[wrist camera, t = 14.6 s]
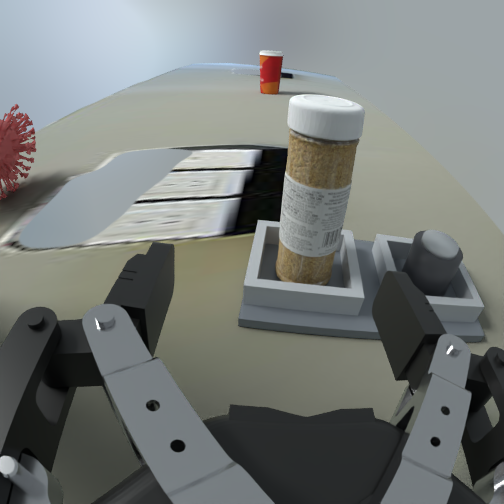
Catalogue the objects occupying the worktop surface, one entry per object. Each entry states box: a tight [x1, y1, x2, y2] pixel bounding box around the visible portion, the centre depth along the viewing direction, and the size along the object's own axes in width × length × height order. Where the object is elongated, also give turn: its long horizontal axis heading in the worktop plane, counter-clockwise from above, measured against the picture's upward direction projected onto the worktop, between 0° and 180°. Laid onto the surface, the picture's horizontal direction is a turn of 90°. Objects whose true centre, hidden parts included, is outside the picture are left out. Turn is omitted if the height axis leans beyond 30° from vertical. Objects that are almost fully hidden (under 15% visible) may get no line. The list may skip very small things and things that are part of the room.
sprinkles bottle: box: [275, 94, 365, 286], centre depth 21 cm, size 5×5×14 cm
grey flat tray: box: [238, 220, 485, 342], centre depth 24 cm, size 19×11×5 cm, turn 82°
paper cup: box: [259, 51, 284, 94], centre depth 90 cm, size 8×8×14 cm
